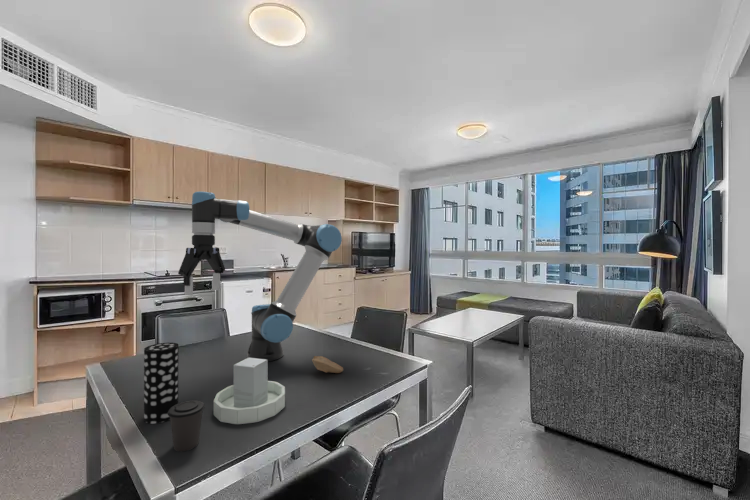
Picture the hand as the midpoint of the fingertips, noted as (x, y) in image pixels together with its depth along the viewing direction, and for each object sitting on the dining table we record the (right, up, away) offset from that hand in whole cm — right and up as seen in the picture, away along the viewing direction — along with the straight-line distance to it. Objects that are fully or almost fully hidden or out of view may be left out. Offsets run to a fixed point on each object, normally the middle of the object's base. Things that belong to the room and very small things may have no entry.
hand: (203, 292), depth 124 cm
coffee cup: (+17, -33, -41) cm, 55 cm away
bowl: (+25, -32, -21) cm, 46 cm away
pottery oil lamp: (+45, -32, +7) cm, 56 cm away
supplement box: (+25, -31, -21) cm, 45 cm away
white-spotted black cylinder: (+2, -32, -27) cm, 42 cm away
